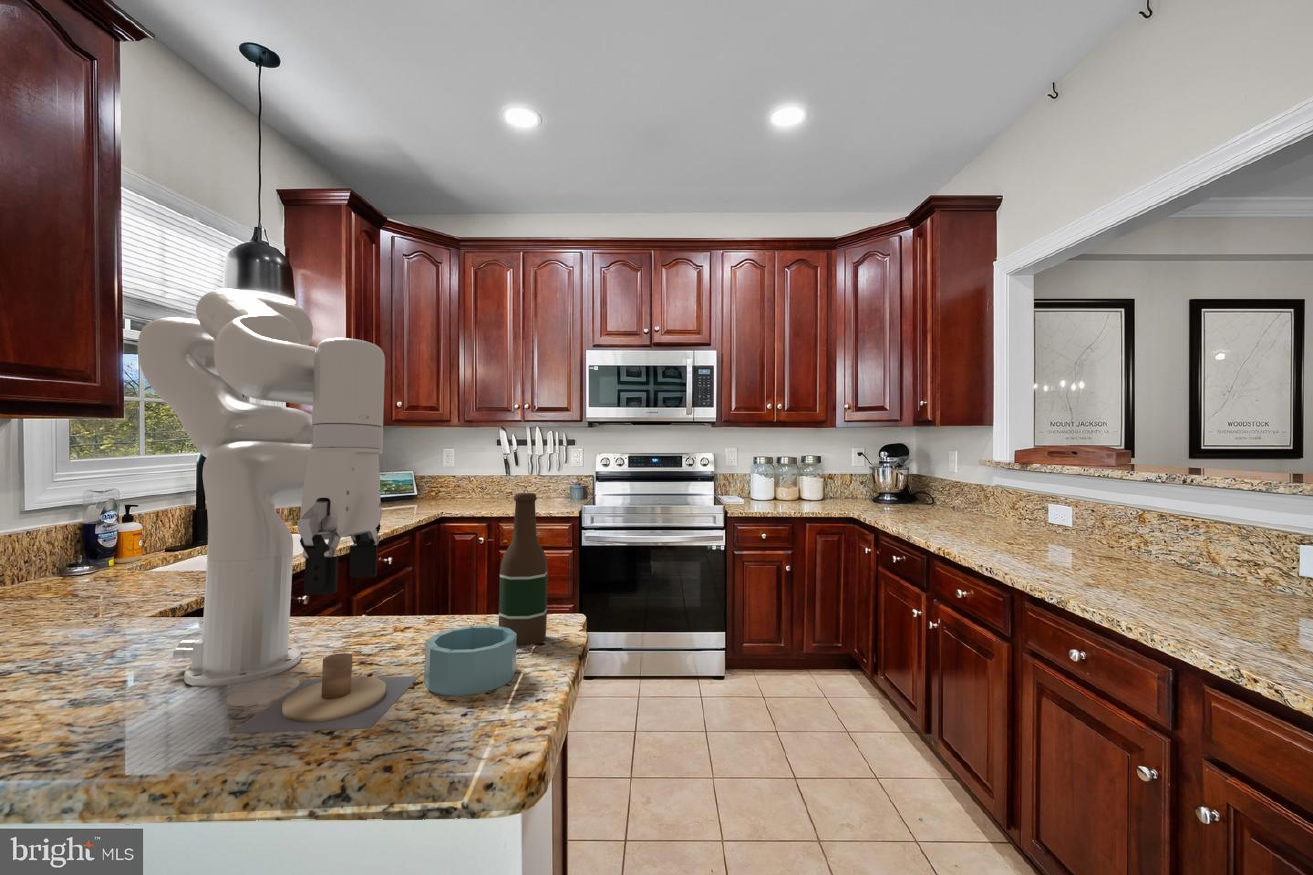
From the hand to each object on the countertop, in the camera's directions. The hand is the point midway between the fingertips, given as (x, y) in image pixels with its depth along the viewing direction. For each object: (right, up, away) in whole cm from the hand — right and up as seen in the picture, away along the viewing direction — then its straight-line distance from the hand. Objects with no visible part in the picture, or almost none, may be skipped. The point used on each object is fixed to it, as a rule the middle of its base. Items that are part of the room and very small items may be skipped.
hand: (343, 584), depth 62 cm
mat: (-1, -14, -1) cm, 14 cm away
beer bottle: (+16, -16, +23) cm, 32 cm away
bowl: (+13, -15, +6) cm, 20 cm away
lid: (-1, -14, -1) cm, 14 cm away
